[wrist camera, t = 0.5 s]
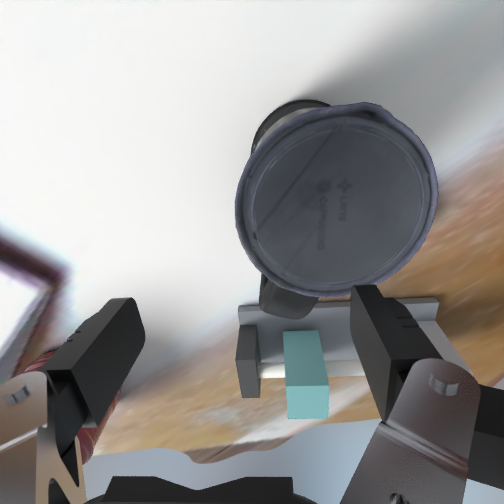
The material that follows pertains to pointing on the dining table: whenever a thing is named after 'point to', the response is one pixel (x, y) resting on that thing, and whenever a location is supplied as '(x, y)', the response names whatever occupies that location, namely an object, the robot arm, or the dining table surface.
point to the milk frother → (332, 202)
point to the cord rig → (331, 337)
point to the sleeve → (305, 375)
